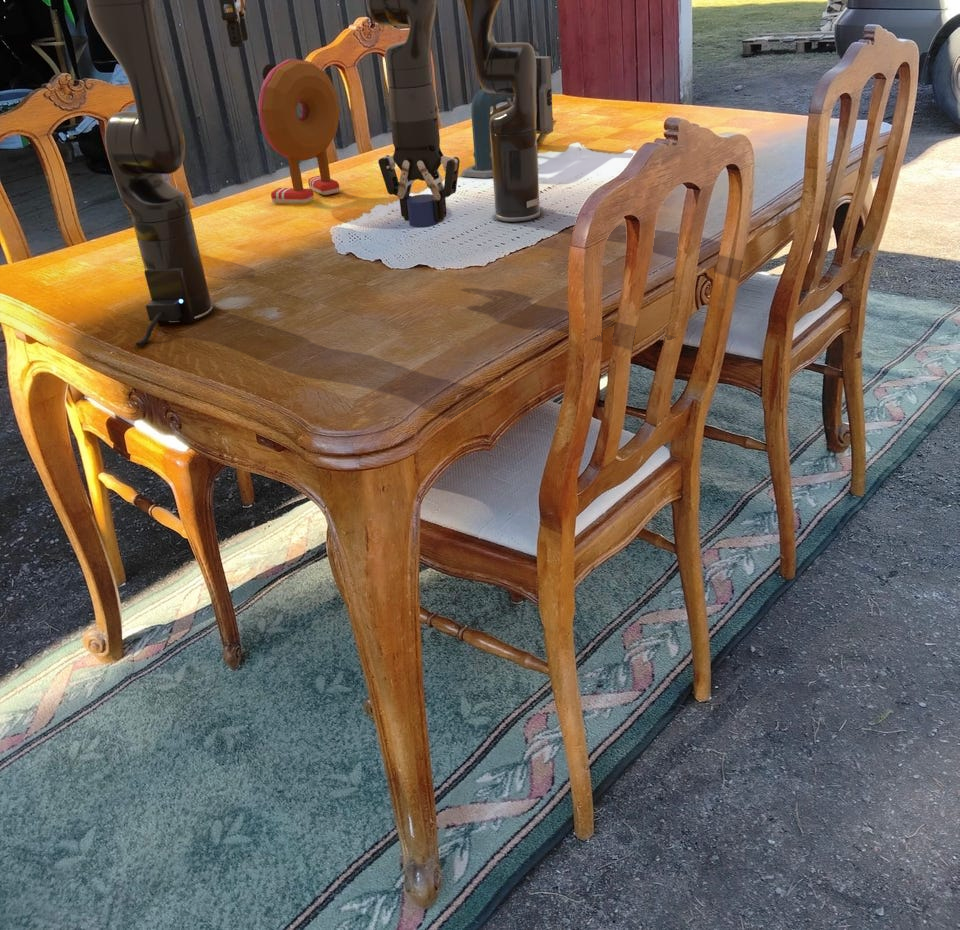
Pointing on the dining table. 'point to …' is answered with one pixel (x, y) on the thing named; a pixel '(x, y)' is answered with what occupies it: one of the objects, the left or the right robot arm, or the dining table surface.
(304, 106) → the toy
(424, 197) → the canister
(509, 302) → the dining table surface
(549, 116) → the clamp
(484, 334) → the dining table surface
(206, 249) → the dining table surface
